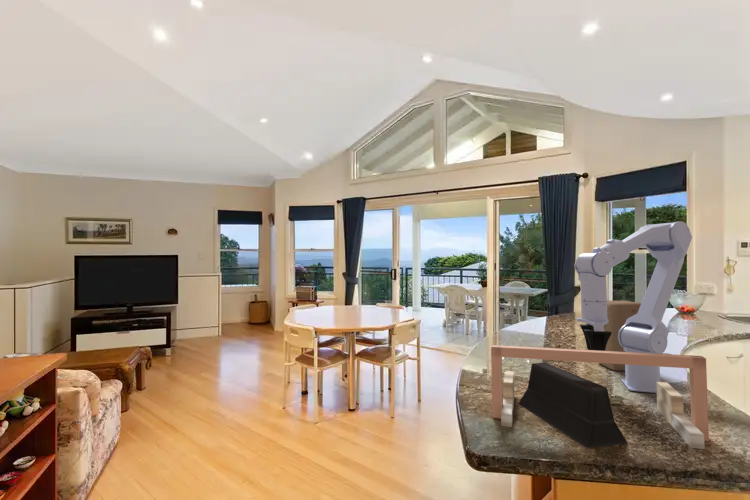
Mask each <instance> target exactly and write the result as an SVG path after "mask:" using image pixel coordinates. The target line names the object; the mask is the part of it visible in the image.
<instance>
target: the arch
mask: <svg viewBox="0 0 750 500" xmlns="http://www.w3.org/2000/svg"><path fill="white" fill-rule="evenodd" d="M490 352H491V353H490V355H491V356H490V357H491V360H490V361H491V363H490V364H491V392H492V393H491V394H492V395H491V396H492V397H491V398H492V399H491V400H492V404H491V406H492V418H493V419H500V420H501V412H502V405H503V399H504V392H503V364H502V363H503V361H502V358H516V359H528V360H529V359H531V360H546V361H547V360H548V361H563V362H564V361H565V362H580V363H581V362H582V363H595V364H599V363H610V364H626V365H642V366H659V367H660V368H661V367H663V368H678V369H679V368H680V369H688V370H689V391H690V392H689V393H690V395H689V396H690V417H691V419H690V421H691V422H692V423H693V424H694V425H695V426H696V427H697V428H698V429H699V430H700V431H701V432H702V433H703V434H704V442H710V433H709V432H710V430H709V429H710V427H709V406H708V405H709V404H708V402H709V401H708V399H709V398H708V375H707V371H708V370H707V358H706V357H704V356H703V355H690V354H689V355H688V354H687V355H686V354H674V353H673V354H672V353H671V354H670V353H662V354H654V353H635V352H615V351H596V350H588V349H572V348H555V347H537V346H536V347H535V346H518V345H517V346H516V345H515V346H514V345H497V344H495V345H494V344H492V345H490Z"/></svg>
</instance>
